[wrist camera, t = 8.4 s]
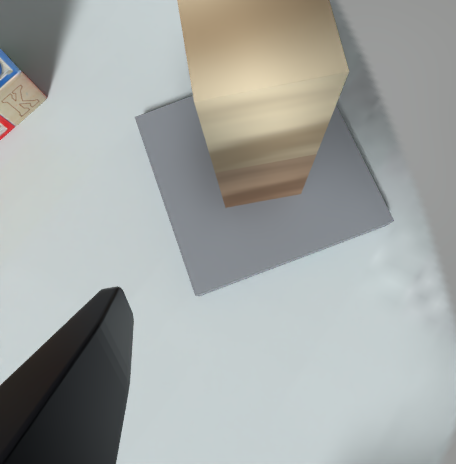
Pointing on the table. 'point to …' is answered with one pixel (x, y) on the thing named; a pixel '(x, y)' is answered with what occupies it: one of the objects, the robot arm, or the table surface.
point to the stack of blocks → (15, 95)
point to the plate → (259, 213)
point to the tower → (263, 89)
